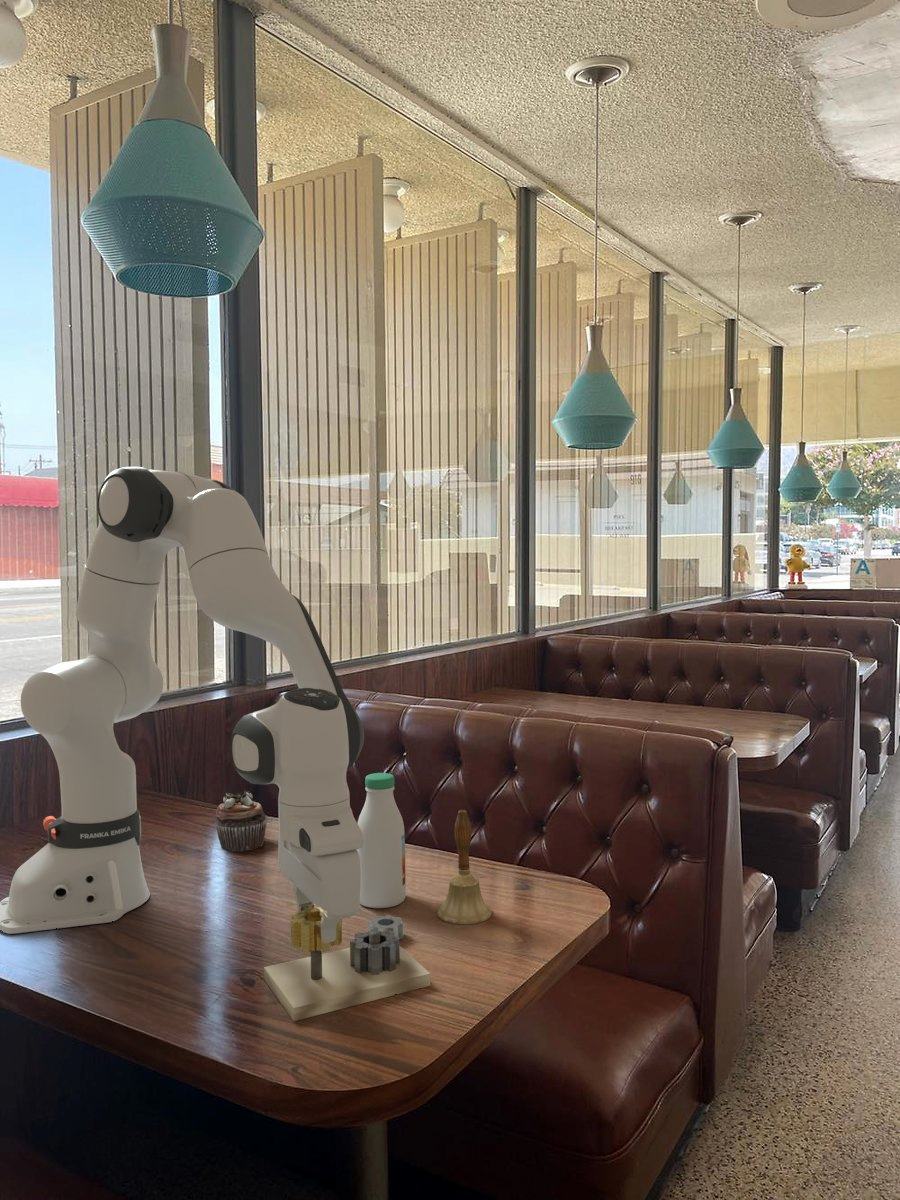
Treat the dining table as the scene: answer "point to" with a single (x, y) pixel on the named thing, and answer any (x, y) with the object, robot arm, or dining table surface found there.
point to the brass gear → (311, 931)
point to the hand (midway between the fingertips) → (316, 928)
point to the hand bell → (464, 883)
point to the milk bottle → (381, 845)
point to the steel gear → (374, 952)
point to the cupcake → (240, 822)
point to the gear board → (338, 981)
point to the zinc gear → (388, 925)
